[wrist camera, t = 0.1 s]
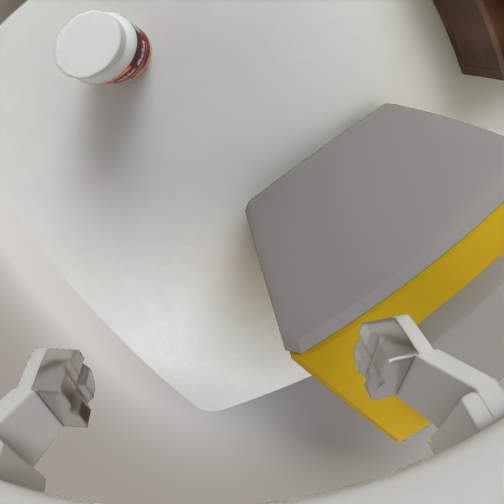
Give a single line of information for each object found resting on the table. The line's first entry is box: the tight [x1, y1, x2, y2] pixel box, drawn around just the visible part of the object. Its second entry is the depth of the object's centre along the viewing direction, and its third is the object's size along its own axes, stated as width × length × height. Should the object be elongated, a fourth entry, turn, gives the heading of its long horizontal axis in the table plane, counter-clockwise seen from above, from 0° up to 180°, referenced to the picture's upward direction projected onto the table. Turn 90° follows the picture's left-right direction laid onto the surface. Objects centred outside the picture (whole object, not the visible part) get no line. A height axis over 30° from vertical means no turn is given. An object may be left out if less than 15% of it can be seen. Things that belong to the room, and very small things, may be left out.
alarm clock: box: [245, 104, 504, 441], centre depth 22 cm, size 20×16×18 cm
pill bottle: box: [54, 11, 152, 84], centre depth 16 cm, size 5×5×8 cm
